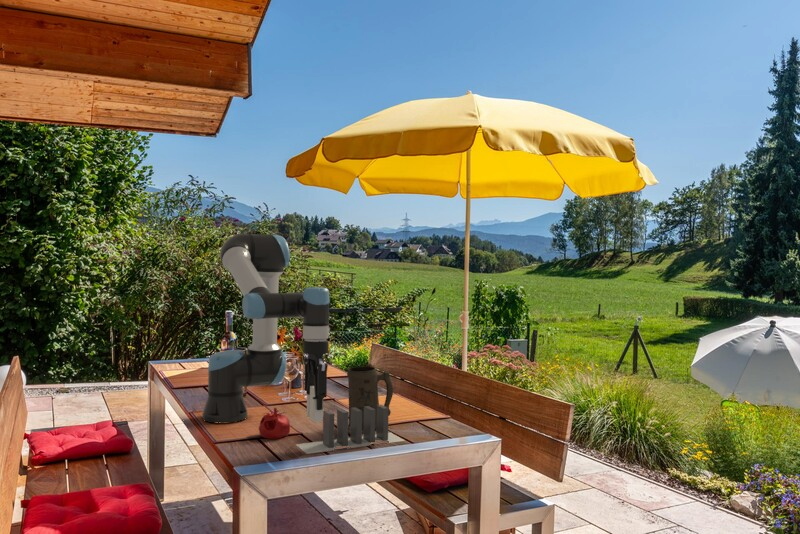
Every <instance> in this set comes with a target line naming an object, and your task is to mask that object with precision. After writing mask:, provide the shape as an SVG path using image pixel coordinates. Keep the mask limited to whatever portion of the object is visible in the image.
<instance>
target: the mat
mask: <svg viewBox="0 0 800 534" xmlns="http://www.w3.org/2000/svg"><path fill="white" fill-rule="evenodd" d="M375 440H381V439H379V438H378V437H376V433H375ZM382 441H383V440H382ZM386 441H389V443H388V444H391V443H397V442H405V441H406V440H405V439H403V438H401V437H399V436H397V434H393V433H392V432H388V440H386ZM369 443H370V442H368V441H367V440H365V439H364V438H363V435H362V444H355V443H354V442H352V441H351V440H350V437H348V446H349V448H348V449H353V448H361V447H369ZM295 445H296V446H297V447H298V448H299V449H301V451H303V452H304V453H305V454H307V455H308V454H309V455H310V454H316V453H323V452H324V453H325V452H332V450H333V451H335V450H334V449H335V448H337V447H336V446H342V445H340V444H339V443H338V442H337V438H336V439H335V438H334V447H335V448H334V447H333V448H328V447H327V446H325V445H324V444H323V440H322V441H312V442H303V443H296V444H295ZM342 447H343V446H342ZM346 447H347V446H346ZM350 447H351V448H350Z"/></svg>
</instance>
